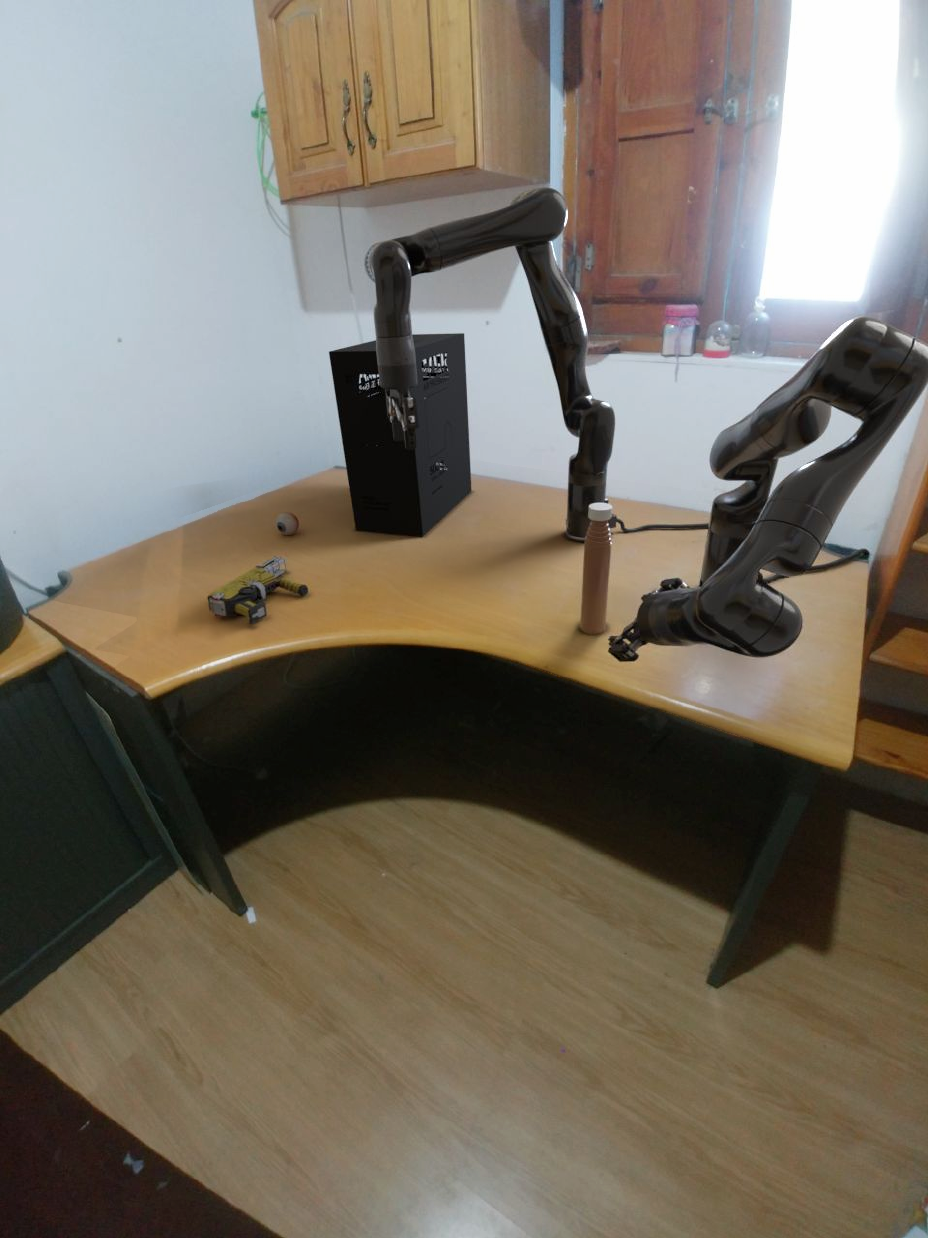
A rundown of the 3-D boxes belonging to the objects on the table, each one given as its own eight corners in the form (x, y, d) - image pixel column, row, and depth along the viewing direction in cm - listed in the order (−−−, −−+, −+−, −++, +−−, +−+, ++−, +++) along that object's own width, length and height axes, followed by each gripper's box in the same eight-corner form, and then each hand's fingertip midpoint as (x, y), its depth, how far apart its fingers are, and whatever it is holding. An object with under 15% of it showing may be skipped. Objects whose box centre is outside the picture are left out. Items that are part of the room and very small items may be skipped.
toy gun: (328, 564, 138) (272, 553, 142) (265, 610, 118) (201, 595, 122) (329, 583, 141) (274, 571, 145) (267, 631, 121) (205, 616, 125)
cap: (615, 515, 104) (616, 505, 103) (604, 522, 101) (605, 511, 100) (595, 511, 106) (595, 501, 105) (583, 518, 104) (584, 507, 103)
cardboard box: (412, 487, 195) (398, 334, 173) (471, 491, 189) (464, 333, 166) (355, 529, 165) (328, 351, 143) (423, 536, 159) (406, 350, 136)
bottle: (609, 626, 115) (619, 506, 103) (597, 636, 112) (606, 515, 100) (587, 619, 118) (594, 502, 106) (575, 629, 115) (581, 510, 103)
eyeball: (273, 537, 164) (268, 516, 161) (287, 528, 169) (282, 508, 166) (291, 539, 161) (286, 518, 158) (305, 530, 166) (301, 510, 163)
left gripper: (426, 362, 113) (433, 449, 121) (404, 355, 125) (411, 435, 133) (387, 367, 111) (397, 455, 119) (369, 359, 123) (378, 440, 131)
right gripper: (665, 677, 80) (620, 670, 96) (729, 594, 81) (674, 602, 97) (622, 641, 79) (584, 640, 95) (687, 558, 80) (639, 572, 97)
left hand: (404, 444), depth 126 cm, fingers open, 8 cm apart
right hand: (630, 621), depth 96 cm, fingers open, 8 cm apart
